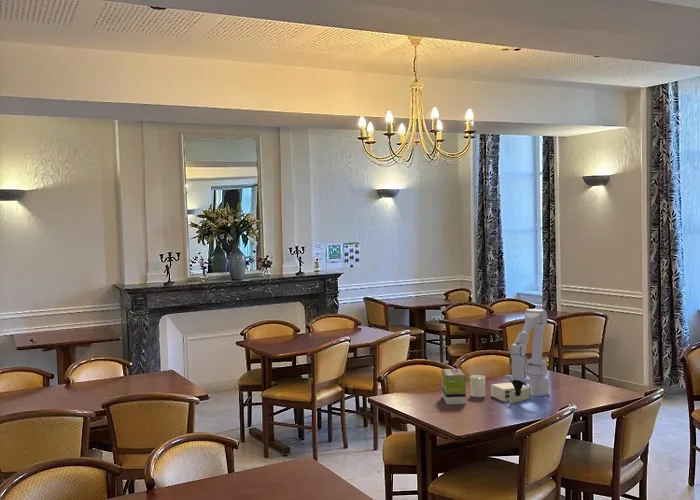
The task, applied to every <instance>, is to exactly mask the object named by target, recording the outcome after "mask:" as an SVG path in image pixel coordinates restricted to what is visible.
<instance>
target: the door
mask: <svg viewBox="0 0 700 500" xmlns="http://www.w3.org/2000/svg"><path fill="white" fill-rule="evenodd" d="M527 387H528V388H524V389H521V395H520V396H516V392H515V391H511V392H510V401H509V403H510V404H514V403H518V402H521V401H525V400H529V399H531V395H530V387H529V386H527Z"/></svg>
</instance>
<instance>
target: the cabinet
mask: <svg viewBox="0 0 700 500" xmlns="http://www.w3.org/2000/svg"><path fill="white" fill-rule="evenodd" d="M528 387H529V386H527V385H524V384H523V386H522V388H521V389H524V388H528ZM490 389H491V391H490V396H491V397H493V398H495V399H498V400H500V401H502V402H510V392H511V391H515V388H514V386H513V384H512V381H510V382H500V383H491V385H490Z"/></svg>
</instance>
